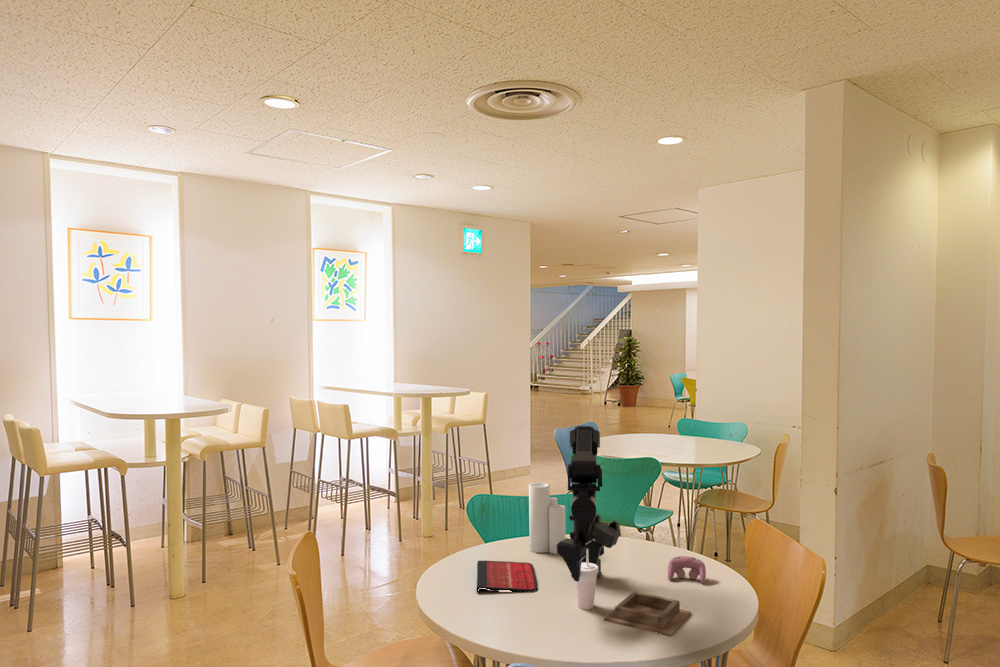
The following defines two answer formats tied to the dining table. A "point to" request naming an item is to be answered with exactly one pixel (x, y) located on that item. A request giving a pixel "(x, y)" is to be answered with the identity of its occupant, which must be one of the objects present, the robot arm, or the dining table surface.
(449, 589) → the dining table surface
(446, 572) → the dining table surface
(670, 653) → the dining table surface
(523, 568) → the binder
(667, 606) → the brown shallow square tray
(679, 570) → the video game controller
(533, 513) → the vase
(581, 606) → the smoothie
